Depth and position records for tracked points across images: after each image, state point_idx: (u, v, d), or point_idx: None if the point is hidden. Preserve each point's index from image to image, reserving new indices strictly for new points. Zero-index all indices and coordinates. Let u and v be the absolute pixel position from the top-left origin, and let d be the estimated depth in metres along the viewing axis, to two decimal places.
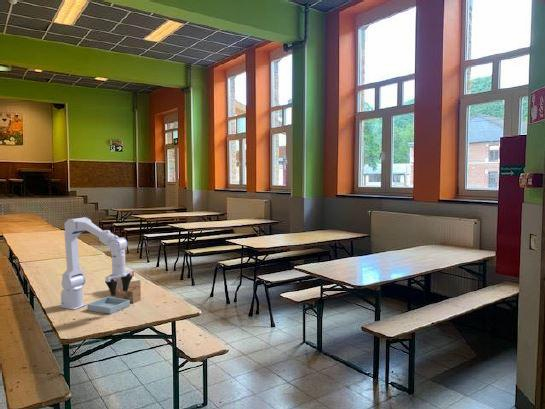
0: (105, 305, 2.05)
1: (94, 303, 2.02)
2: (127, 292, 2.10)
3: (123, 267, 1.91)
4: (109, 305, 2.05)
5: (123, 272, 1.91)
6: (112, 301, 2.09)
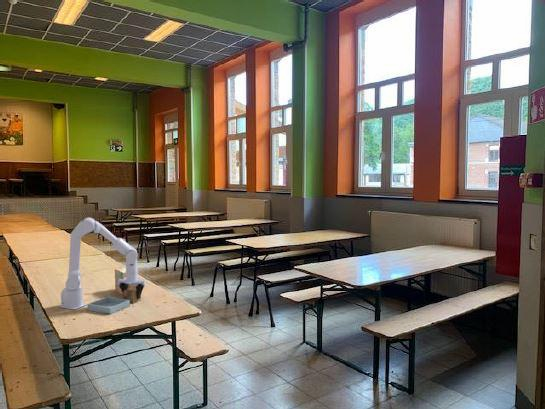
0: (105, 305, 2.05)
1: (94, 303, 2.02)
2: (127, 292, 2.10)
3: (128, 275, 2.09)
4: (109, 305, 2.05)
5: (129, 280, 2.10)
6: (112, 301, 2.09)
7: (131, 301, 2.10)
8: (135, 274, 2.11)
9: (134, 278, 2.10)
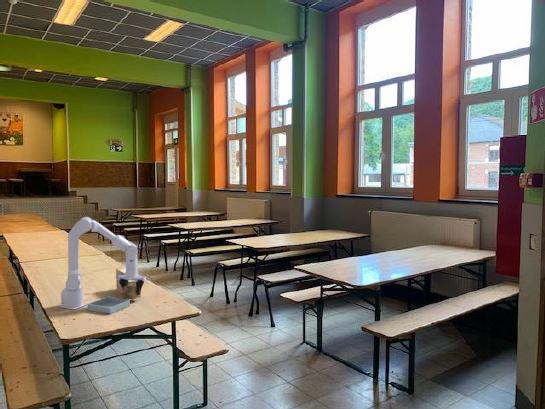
0: (105, 305, 2.05)
1: (94, 303, 2.02)
2: (127, 288, 2.10)
3: (128, 271, 2.09)
4: (109, 305, 2.05)
5: (128, 276, 2.10)
6: (112, 301, 2.09)
7: (131, 297, 2.10)
8: (135, 270, 2.10)
9: (134, 274, 2.10)
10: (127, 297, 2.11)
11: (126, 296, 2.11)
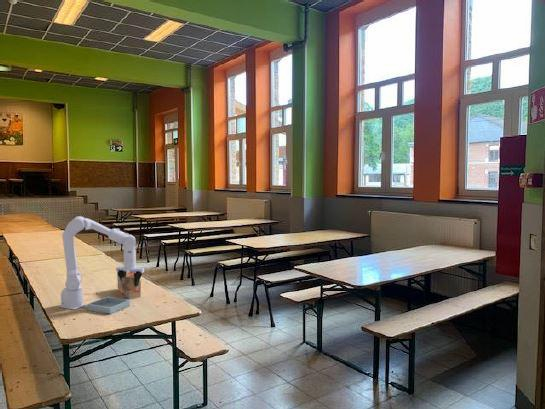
0: (105, 305, 2.05)
1: (94, 303, 2.02)
2: (125, 279, 2.09)
3: (126, 263, 2.08)
4: (109, 305, 2.05)
5: (126, 267, 2.08)
6: (112, 301, 2.09)
7: (129, 288, 2.09)
8: (133, 261, 2.09)
9: (132, 265, 2.09)
10: (125, 288, 2.10)
11: (124, 287, 2.10)
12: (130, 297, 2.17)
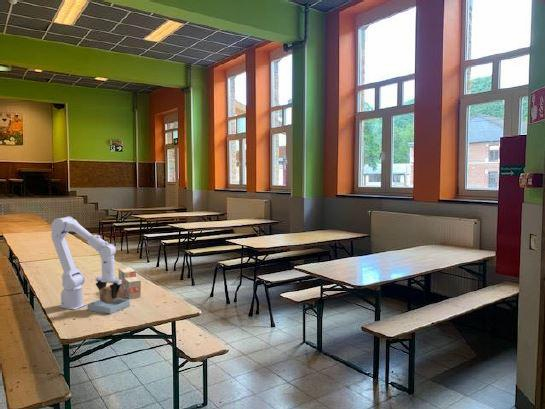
0: (105, 305, 2.05)
1: (94, 303, 2.02)
2: (102, 290, 2.00)
3: (103, 273, 1.98)
4: (109, 305, 2.05)
5: (103, 278, 1.99)
6: None
7: (106, 300, 1.99)
8: (110, 272, 1.99)
9: (109, 276, 1.99)
10: (103, 300, 2.00)
11: (102, 299, 2.00)
12: (130, 297, 2.17)
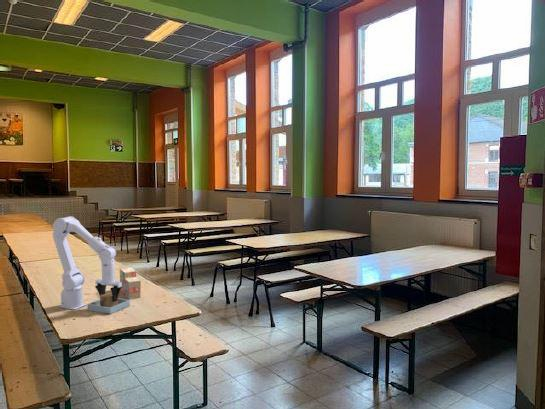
0: None
1: (94, 303, 2.02)
2: (103, 297, 2.00)
3: (103, 276, 1.99)
4: None
5: (103, 281, 1.99)
6: None
7: None
8: (110, 275, 1.99)
9: (109, 279, 1.99)
10: None
11: None
12: (130, 297, 2.17)
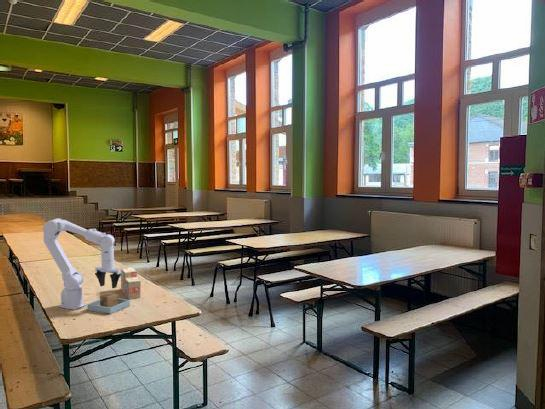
0: None
1: (94, 303, 2.02)
2: (103, 297, 2.00)
3: (103, 263, 2.02)
4: None
5: (103, 267, 2.02)
6: None
7: None
8: (110, 262, 2.03)
9: (108, 266, 2.02)
10: None
11: None
12: (129, 297, 2.17)
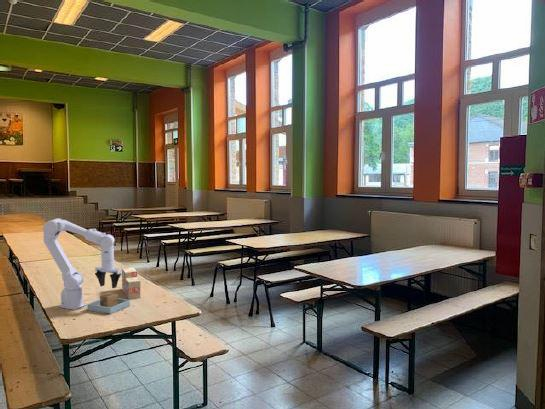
0: None
1: (94, 303, 2.02)
2: (103, 297, 2.00)
3: (103, 263, 2.02)
4: None
5: (103, 267, 2.02)
6: None
7: None
8: (110, 262, 2.03)
9: (108, 266, 2.02)
10: None
11: None
12: (129, 297, 2.16)
